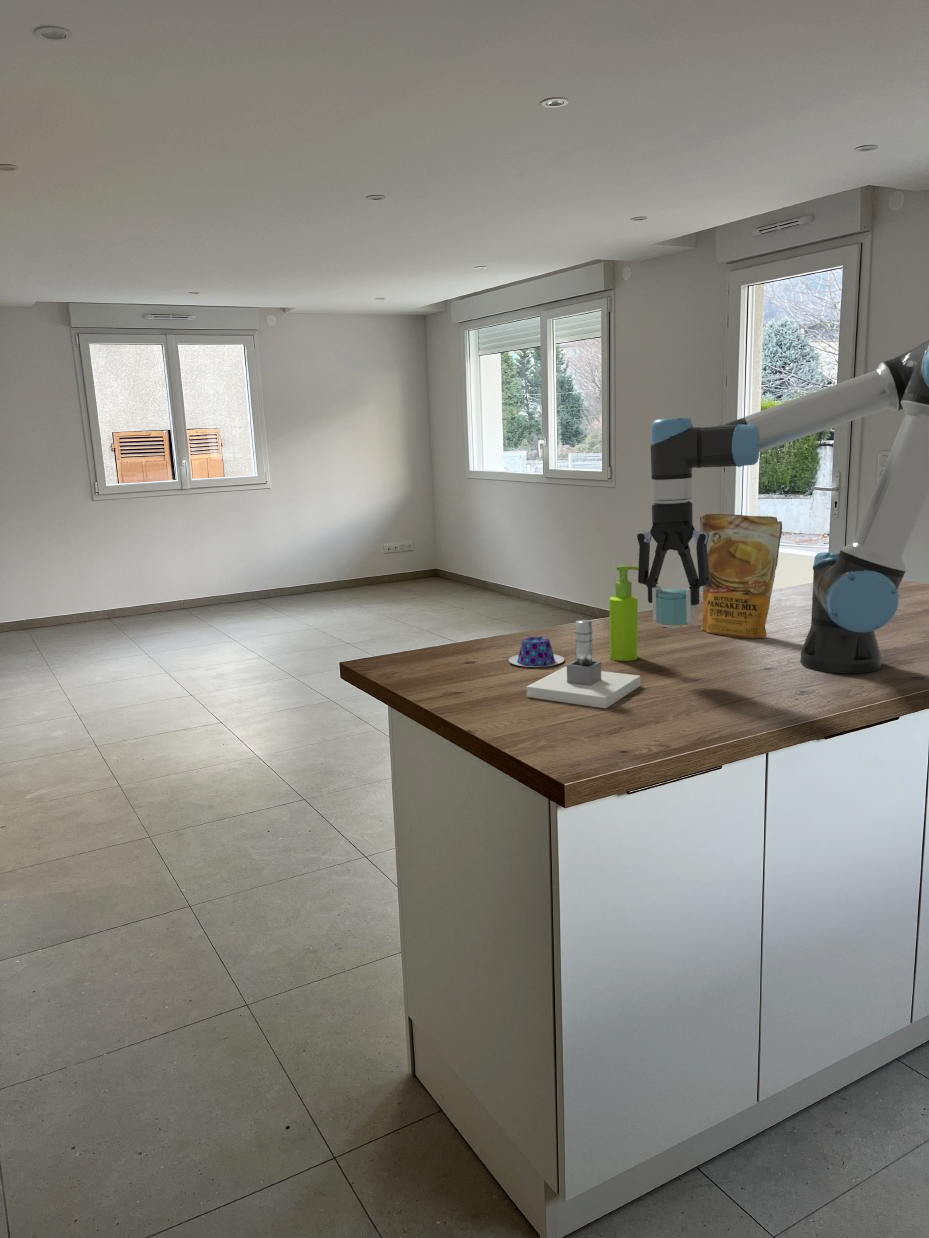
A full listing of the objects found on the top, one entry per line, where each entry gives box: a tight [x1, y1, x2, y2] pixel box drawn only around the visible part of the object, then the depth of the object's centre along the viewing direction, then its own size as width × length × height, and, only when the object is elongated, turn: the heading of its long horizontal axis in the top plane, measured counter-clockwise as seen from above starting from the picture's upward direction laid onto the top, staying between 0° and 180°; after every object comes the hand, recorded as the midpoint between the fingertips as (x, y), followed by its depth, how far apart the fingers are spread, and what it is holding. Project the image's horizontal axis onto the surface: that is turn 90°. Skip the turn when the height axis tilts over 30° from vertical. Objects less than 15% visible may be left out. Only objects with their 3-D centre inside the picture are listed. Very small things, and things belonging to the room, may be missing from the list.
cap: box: [655, 588, 689, 626], centre depth 175 cm, size 6×6×6 cm
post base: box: [526, 659, 641, 709], centre depth 170 cm, size 16×16×6 cm
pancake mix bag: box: [699, 513, 783, 640], centre depth 210 cm, size 7×19×28 cm, turn 48°
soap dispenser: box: [608, 564, 639, 662], centre depth 192 cm, size 6×7×20 cm
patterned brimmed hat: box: [508, 636, 565, 668], centre depth 193 cm, size 12×12×5 cm
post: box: [574, 619, 593, 667], centre depth 169 cm, size 3×3×10 cm
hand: (673, 620), depth 175 cm, fingers closed on cap, 6 cm apart
